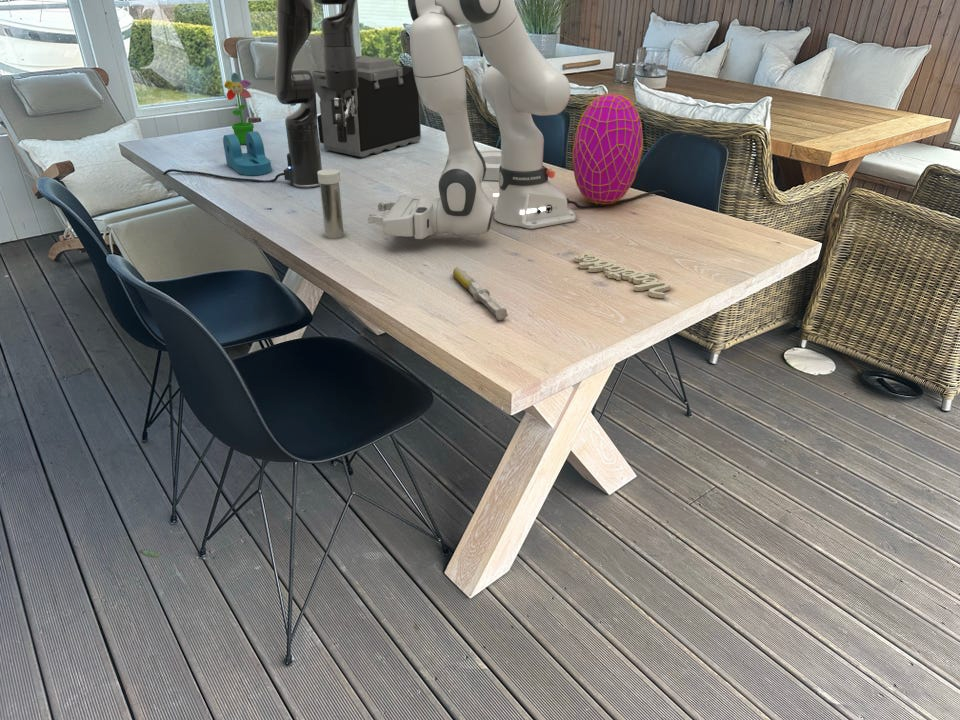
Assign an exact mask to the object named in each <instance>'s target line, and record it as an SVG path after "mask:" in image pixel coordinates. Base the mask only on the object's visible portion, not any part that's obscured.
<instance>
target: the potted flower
mask: <svg viewBox="0 0 960 720" xmlns="http://www.w3.org/2000/svg"><path fill="white" fill-rule="evenodd" d="M251 84H252V82H251V81H250V80H248V79H242V80H240V76H239V75H238V74H237V72H233V73H232V74H231V77H230V80H226V81H225V82H224V85H223V87H224V88H225V89H227V92H226V98H227V100H229V101H231V100H234V98H235V97H236V98H237V104H238V109H235V110H233V111H232V112H231V113H232V115H235V116H239V118H240V122H236V123H232V124H231V128H232V130H233V134H235V135H236V136H237V138H238V140H239V142H240V145H246V139H245V137H246V133H247V132H254V125H255V124H254V123H253V122H247V121H246V122H244V119H243V112H242V110H244V109H245V108H246V104H241V100H240V96H241V97H242V98H245V99H250V98H252V94H251V92H250V91H249V90H247V89H246V88H249V87H250V86H251Z"/></svg>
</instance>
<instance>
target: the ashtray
mask: <svg viewBox="0 0 960 720" xmlns="http://www.w3.org/2000/svg"><path fill="white" fill-rule="evenodd" d="M479 152H480V153H481V155H482V157H483V159H484V161H485V164H486V173H485V176H484V178H483V180H482V181H495V182H497V181H498V182H499V180H498V179H499V166H500V165H501V149H500V150H499V149H494V150H493V149H491V150H490V149H489V150H479Z"/></svg>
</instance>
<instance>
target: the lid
mask: <svg viewBox="0 0 960 720" xmlns="http://www.w3.org/2000/svg"><path fill="white" fill-rule="evenodd" d="M317 174H318V182H319V183H321V184H335V183H338V182H339V183H340V182H341V175H340V170H338V169H336V168H325V169H323V170H320V171H318V172H317Z"/></svg>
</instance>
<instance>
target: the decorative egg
mask: <svg viewBox="0 0 960 720" xmlns="http://www.w3.org/2000/svg"><path fill="white" fill-rule="evenodd" d="M643 146H644V136H643V124H642V120H641V116H640V113H639V111H638V109H637V107H636V105H635V103H634V102H633V101H632V100H631V99H630V98H629V97H627V96H625V95H622V94H620V93H614V92H613V93H612V92H611V93H610V92H609V93H604V94H601V95H598V96H596V97H594V98H593V99H592V100H590V101H589V103H588V104H587V106H586V107H585V109H584V111H583V112H582V114H581V116H580V118H579V120H578V122H577V127H576V130H575V135H574V140H573V146H572V153H571V158H572V159H571V160H572V169H573V178H574V180H575V182H576V186H577V188H578V190H579V192H580V194H581V195H582V196H583V197H584V198H585V199H586V200H587V201H588V202H590V203H593V204H595V205H596V204H609V205H613V204H612V203H615V202H617V201H619V200H622V199H623V198H624V196H625V195H626V194H627V193H628V191H629V190H630V189H631V186H632V185H633V183H634V181H635V179H636V176H637V172H638V170H639V166H640V162H641V159H642V155H643V148H644V147H643Z"/></svg>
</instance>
